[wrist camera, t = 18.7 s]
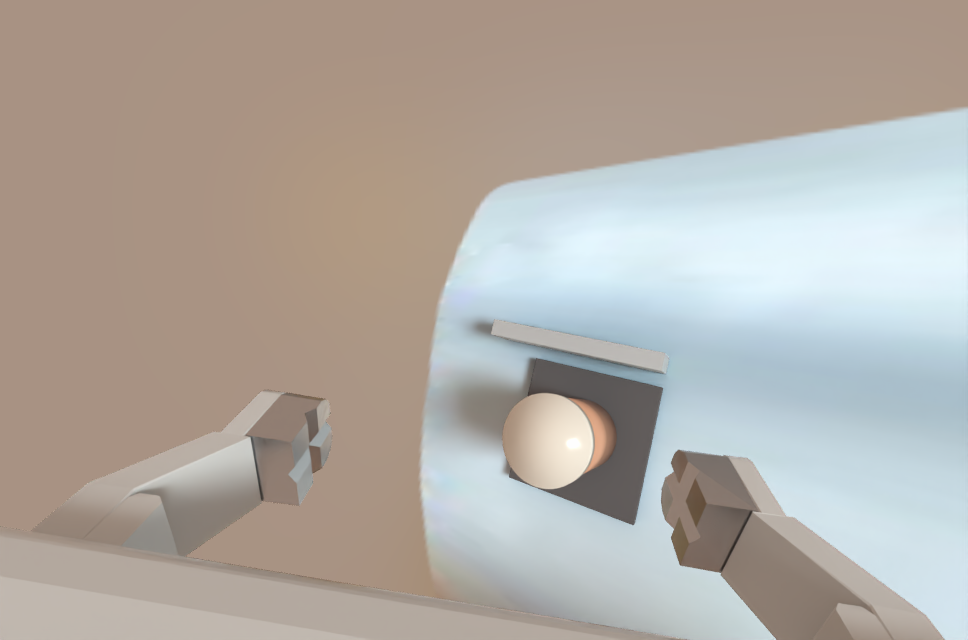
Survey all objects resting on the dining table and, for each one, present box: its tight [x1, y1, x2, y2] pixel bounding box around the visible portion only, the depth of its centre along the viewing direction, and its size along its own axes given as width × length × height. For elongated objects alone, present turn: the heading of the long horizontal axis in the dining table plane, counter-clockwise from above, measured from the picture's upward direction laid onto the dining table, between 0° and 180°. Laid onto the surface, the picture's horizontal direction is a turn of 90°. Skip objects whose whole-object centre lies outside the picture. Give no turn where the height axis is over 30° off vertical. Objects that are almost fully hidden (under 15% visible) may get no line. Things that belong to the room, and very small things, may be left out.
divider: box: [491, 319, 669, 374], centre depth 42 cm, size 2×16×4 cm, turn 74°
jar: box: [502, 393, 617, 489], centre depth 37 cm, size 7×7×10 cm
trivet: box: [509, 358, 663, 525], centre depth 42 cm, size 12×12×1 cm
